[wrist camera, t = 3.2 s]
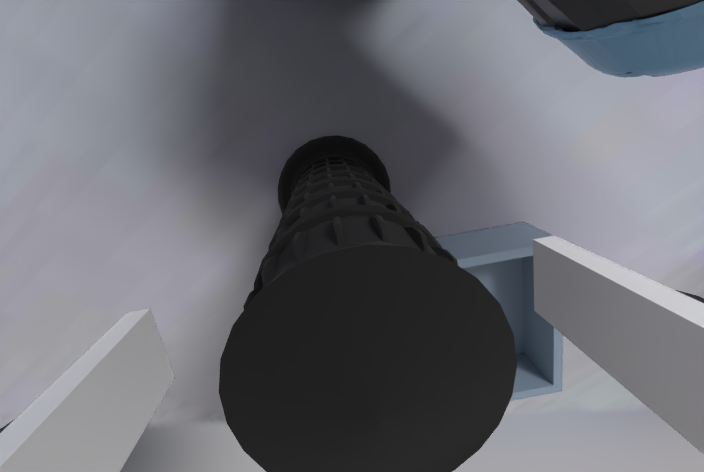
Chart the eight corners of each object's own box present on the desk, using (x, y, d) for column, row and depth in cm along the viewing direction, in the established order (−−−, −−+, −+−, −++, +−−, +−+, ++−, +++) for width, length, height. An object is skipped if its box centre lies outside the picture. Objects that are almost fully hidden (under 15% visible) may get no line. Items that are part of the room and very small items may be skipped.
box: (373, 248, 35) (383, 272, 29) (524, 221, 35) (563, 240, 29) (392, 377, 39) (405, 421, 33) (526, 352, 39) (562, 390, 34)
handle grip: (254, 201, 32) (341, 267, 35) (18, 467, 7) (394, 640, 10) (326, 110, 31) (412, 186, 33) (349, 36, 5) (704, 379, 8)
